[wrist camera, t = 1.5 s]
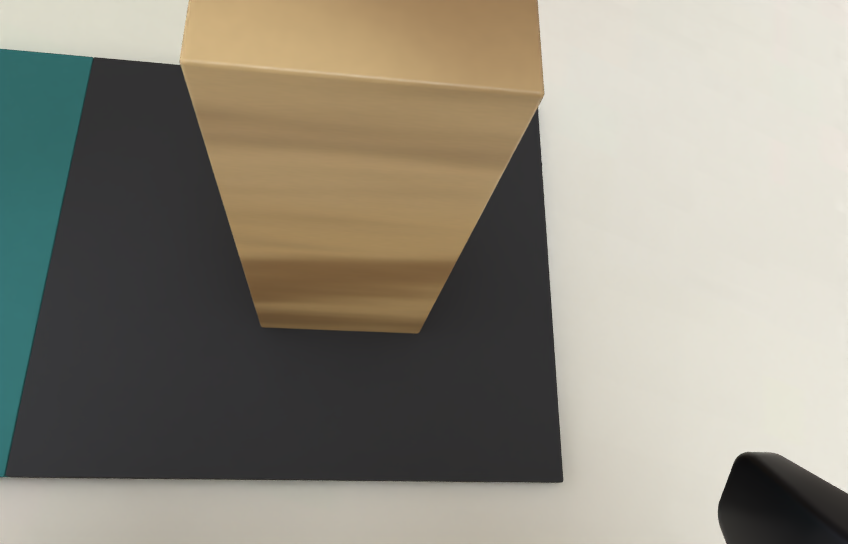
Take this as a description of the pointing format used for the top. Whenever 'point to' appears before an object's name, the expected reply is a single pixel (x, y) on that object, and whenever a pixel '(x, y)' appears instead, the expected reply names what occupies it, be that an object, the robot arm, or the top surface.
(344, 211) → the maple block
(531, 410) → the runner mat
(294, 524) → the top surface
